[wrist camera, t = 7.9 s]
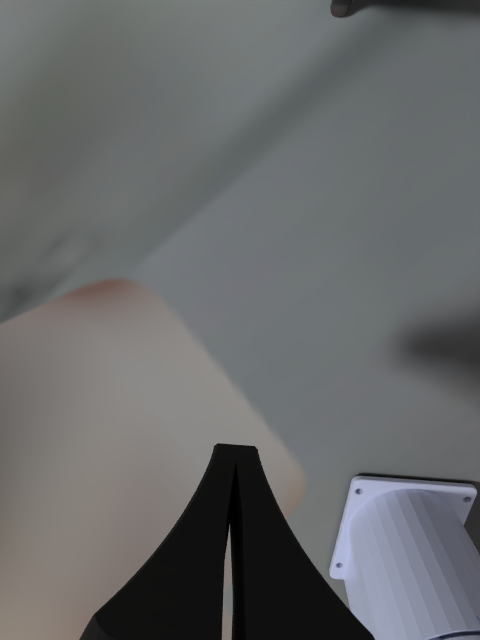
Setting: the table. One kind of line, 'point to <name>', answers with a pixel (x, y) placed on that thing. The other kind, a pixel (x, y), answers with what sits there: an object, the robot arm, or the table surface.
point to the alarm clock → (339, 7)
